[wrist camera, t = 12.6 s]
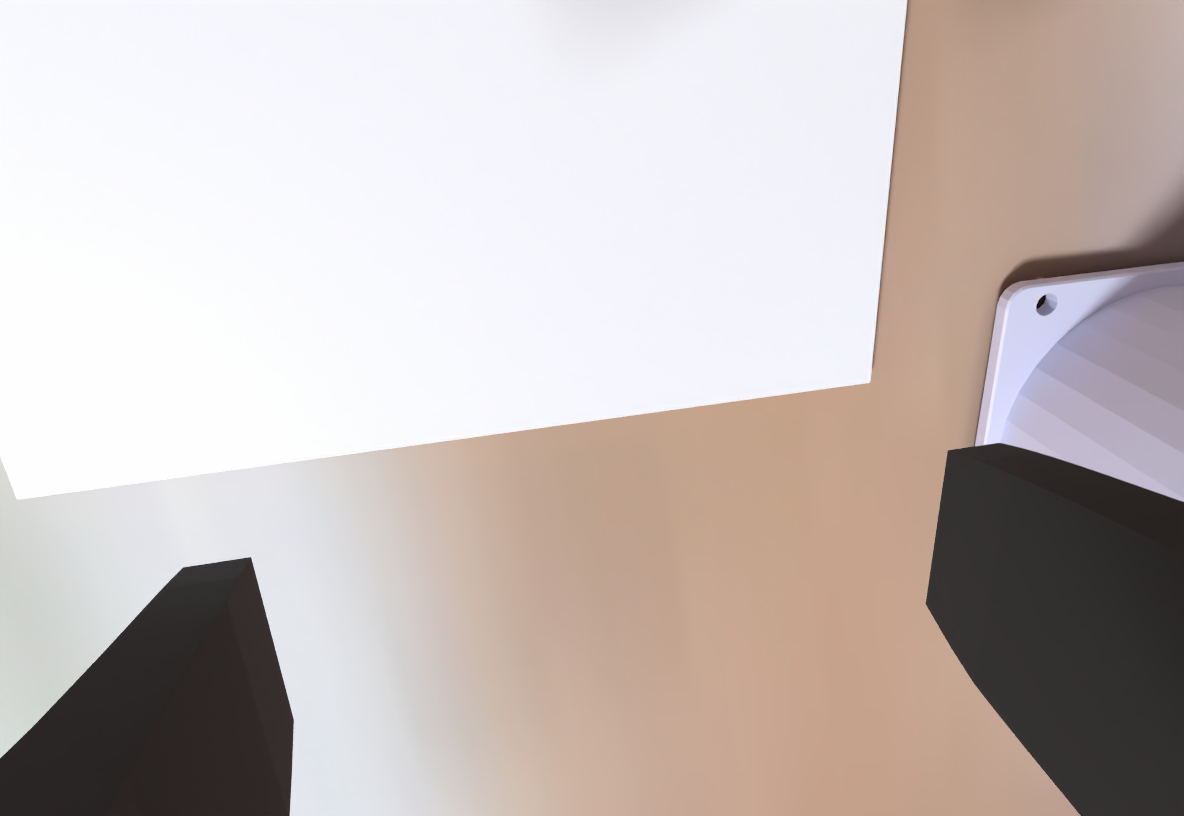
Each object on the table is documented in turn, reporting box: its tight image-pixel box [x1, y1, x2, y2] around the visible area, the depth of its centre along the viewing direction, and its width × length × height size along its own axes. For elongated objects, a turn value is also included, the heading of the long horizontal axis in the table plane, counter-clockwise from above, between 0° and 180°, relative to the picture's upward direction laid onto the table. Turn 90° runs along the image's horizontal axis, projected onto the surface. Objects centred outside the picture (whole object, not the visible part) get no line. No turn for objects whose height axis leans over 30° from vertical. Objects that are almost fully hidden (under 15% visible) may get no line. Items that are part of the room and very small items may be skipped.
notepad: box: [0, 0, 907, 500], centre depth 16 cm, size 18×12×1 cm, turn 93°
